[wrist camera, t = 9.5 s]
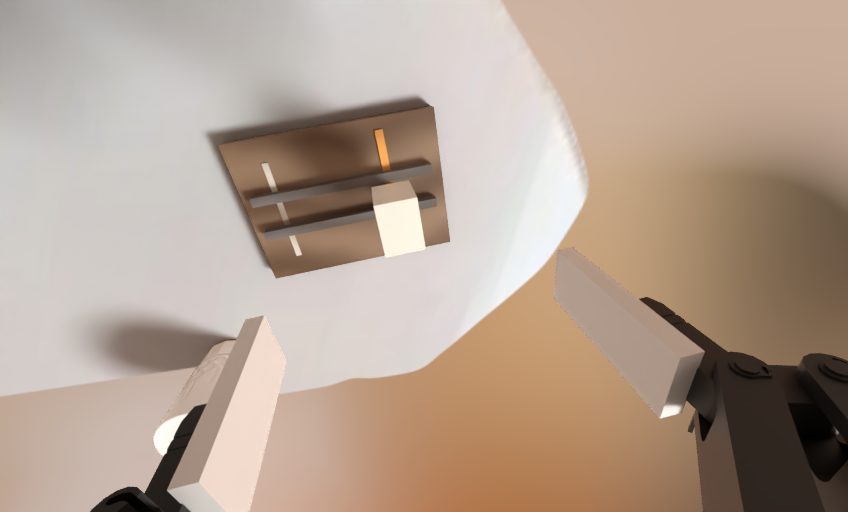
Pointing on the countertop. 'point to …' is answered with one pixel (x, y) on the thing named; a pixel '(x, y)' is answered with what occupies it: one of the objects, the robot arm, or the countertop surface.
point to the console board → (336, 186)
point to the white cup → (192, 394)
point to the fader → (398, 218)
